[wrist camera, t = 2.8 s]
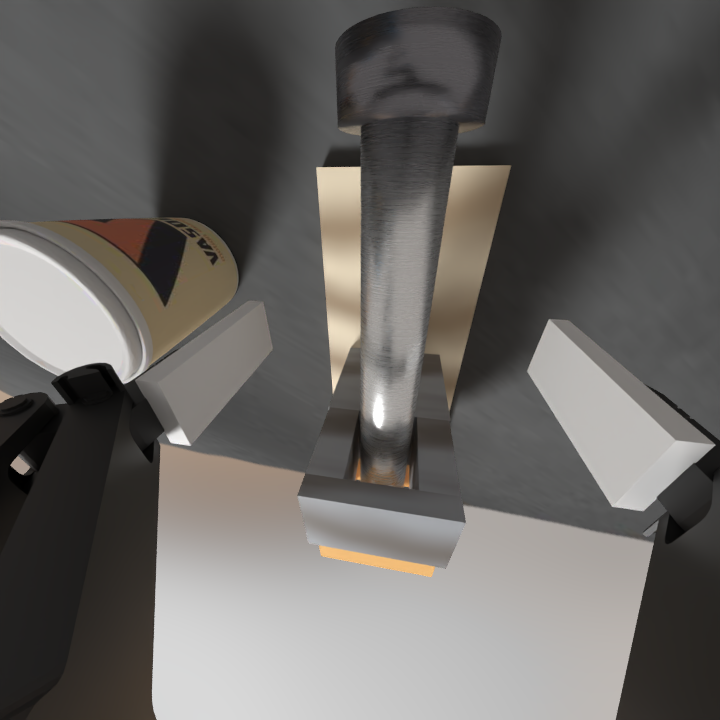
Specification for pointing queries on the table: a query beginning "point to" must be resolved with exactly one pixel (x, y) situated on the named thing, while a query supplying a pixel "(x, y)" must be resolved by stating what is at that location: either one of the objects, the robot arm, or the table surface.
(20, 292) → the coffee cup
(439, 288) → the bearing fixture
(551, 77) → the table surface
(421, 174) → the shaft
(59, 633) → the robot arm
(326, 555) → the frame
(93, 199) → the table surface
